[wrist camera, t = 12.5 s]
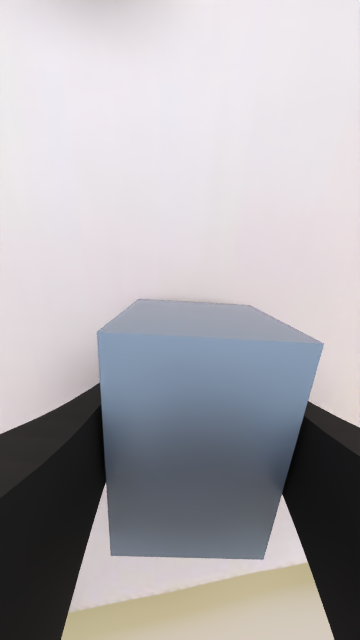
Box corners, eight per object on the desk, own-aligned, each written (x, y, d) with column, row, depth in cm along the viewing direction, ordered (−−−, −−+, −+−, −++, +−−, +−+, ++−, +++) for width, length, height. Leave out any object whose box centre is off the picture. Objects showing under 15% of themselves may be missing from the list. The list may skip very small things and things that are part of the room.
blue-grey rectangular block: (228, 440, 12) (263, 559, 7) (138, 436, 12) (110, 555, 7) (249, 305, 10) (323, 343, 5) (139, 298, 10) (97, 331, 5)
